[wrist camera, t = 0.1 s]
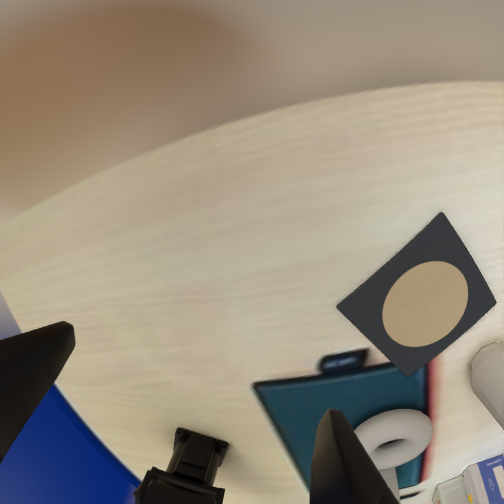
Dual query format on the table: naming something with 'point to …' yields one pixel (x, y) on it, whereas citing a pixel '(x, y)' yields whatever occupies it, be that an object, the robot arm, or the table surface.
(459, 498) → the small box
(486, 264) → the table surface
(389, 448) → the donut
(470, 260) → the coaster
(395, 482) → the white paper bag
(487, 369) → the salt shaker
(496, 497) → the walkman
